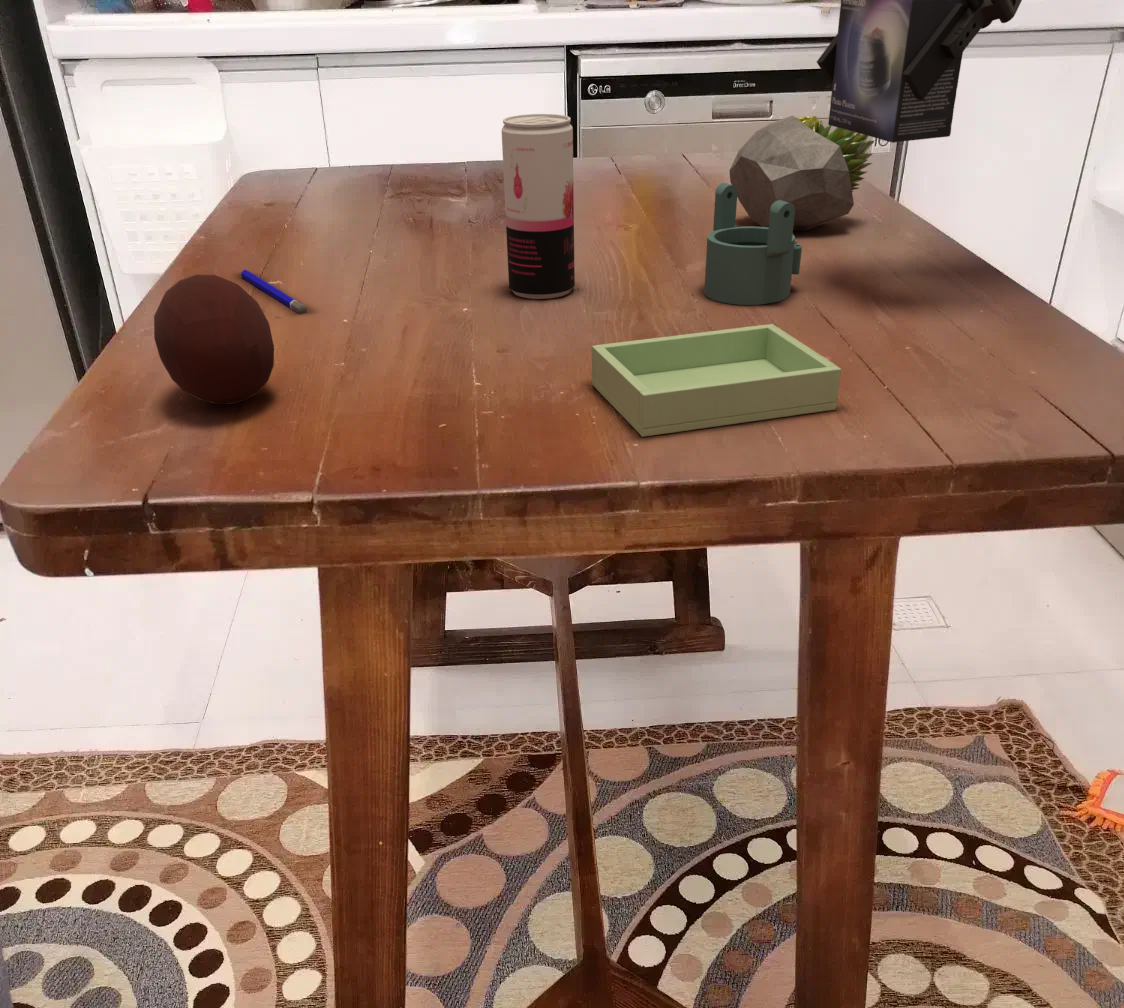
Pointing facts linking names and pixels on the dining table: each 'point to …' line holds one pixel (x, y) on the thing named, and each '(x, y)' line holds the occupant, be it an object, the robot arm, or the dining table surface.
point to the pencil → (274, 292)
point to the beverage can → (539, 204)
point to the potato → (214, 339)
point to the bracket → (750, 254)
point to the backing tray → (713, 379)
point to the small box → (890, 70)
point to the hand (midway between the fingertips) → (867, 80)
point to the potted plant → (800, 170)
